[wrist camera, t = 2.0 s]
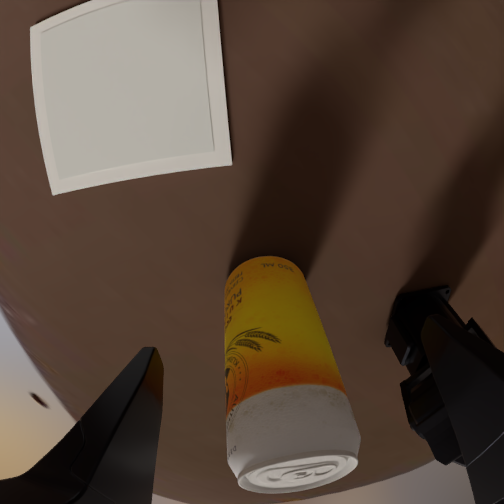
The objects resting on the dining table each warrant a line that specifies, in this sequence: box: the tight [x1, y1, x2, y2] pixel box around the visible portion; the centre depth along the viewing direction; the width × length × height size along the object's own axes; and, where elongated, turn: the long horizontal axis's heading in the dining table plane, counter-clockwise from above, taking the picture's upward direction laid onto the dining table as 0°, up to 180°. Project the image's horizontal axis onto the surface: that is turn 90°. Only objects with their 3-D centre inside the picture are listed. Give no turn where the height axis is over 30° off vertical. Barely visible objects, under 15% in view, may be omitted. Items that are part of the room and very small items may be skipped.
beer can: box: [225, 256, 361, 493], centre depth 17 cm, size 6×6×15 cm
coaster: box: [30, 0, 232, 195], centre depth 15 cm, size 13×13×1 cm
